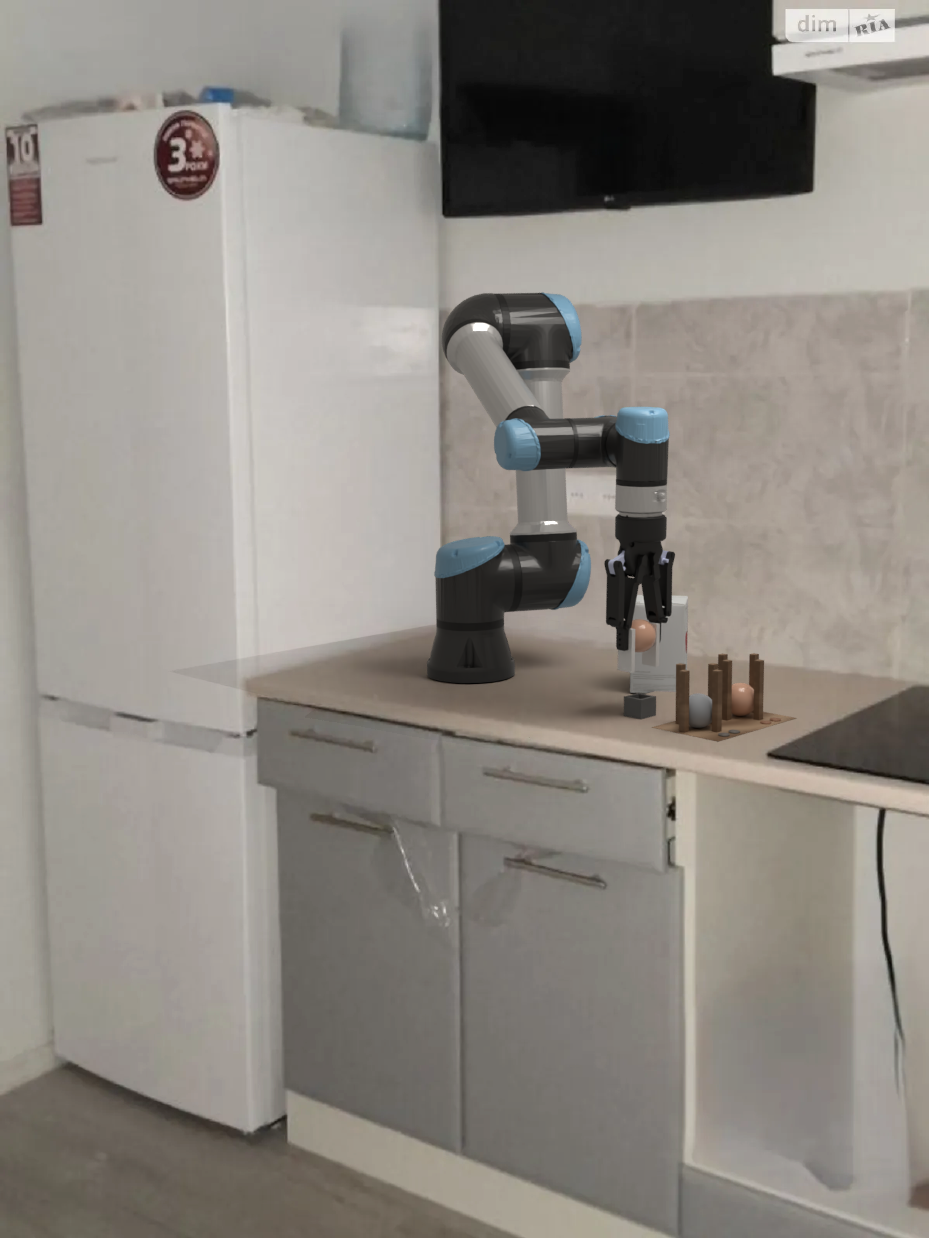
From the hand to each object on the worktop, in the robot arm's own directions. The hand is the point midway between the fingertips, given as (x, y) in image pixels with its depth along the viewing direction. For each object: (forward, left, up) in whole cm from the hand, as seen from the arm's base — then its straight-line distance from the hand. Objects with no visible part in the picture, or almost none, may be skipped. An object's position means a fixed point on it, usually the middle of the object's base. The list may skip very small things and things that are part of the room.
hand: (638, 667), depth 228 cm
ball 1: (+12, 0, -7) cm, 14 cm away
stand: (+1, 0, -8) cm, 8 cm away
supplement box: (-11, +18, -8) cm, 23 cm away
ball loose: (0, 0, +5) cm, 5 cm away
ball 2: (+12, +10, -7) cm, 17 cm away
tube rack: (+13, +5, -8) cm, 16 cm away
